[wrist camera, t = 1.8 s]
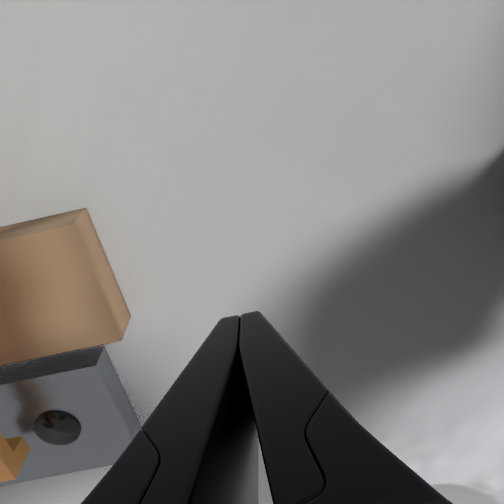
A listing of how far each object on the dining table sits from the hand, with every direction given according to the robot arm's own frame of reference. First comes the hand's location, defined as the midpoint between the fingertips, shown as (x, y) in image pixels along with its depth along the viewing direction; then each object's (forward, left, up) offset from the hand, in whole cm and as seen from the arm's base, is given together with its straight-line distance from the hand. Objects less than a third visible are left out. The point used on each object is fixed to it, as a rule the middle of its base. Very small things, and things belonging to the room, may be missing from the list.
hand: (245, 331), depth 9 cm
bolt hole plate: (+14, +17, -11) cm, 24 cm away
